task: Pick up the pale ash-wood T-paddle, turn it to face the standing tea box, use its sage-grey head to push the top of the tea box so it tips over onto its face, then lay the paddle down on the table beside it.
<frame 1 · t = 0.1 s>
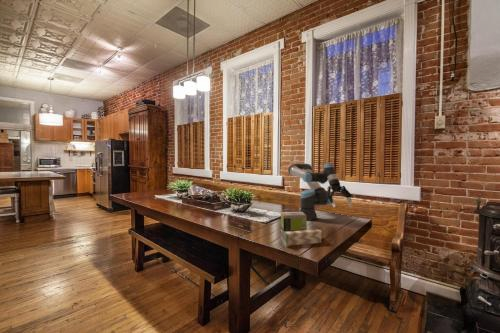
hand: (342, 206, 182), 15 cm above the table, tool tilted 35°, fingers open, 13 cm apart
tea box: (293, 236, 163), on the table
paddle: (303, 243, 149), on the table
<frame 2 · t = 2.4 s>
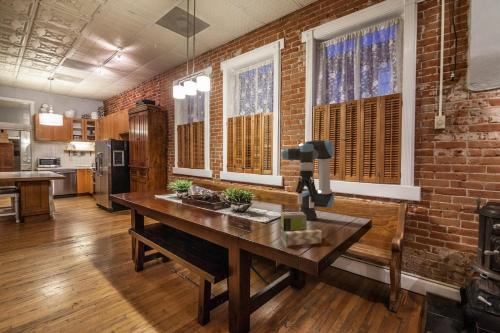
hand: (305, 205, 148), 22 cm above the table, tool pointing down, fingers open, 13 cm apart
nothing on the table moved.
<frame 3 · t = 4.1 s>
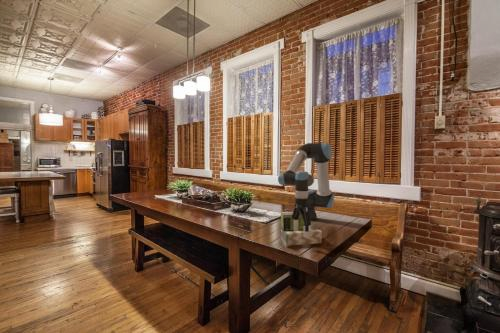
hand: (300, 233, 148), 6 cm above the table, tool pointing down, fingers open, 13 cm apart
nothing on the table moved.
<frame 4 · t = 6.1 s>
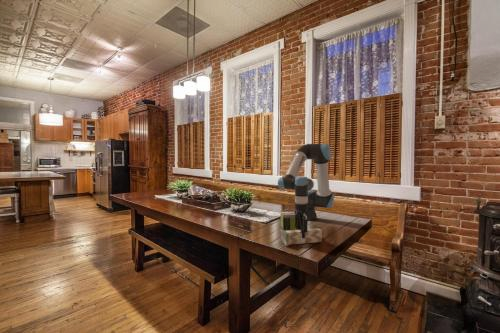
hand: (300, 241, 149), 1 cm above the table, tool pointing down, fingers closed on paddle, 4 cm apart
paddle: (303, 242, 149), on the table, touching gripper
everything else where it was.
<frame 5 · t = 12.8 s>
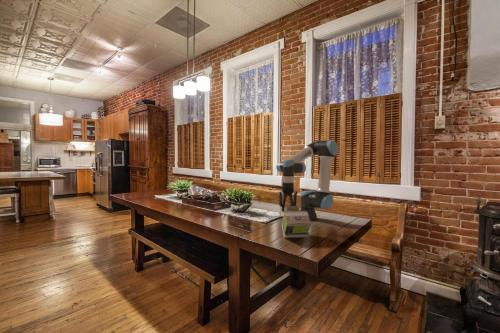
hand: (287, 216, 171), 11 cm above the table, tool pointing down, fingers closed on paddle, 4 cm apart
tea box: (293, 231, 162), point 3 cm above the table, touching paddle
paddle: (286, 216, 172), point 10 cm above the table, tilted 12°, touching gripper, tea box
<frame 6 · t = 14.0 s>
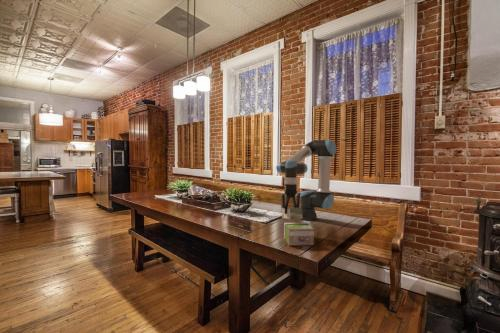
hand: (290, 218, 167), 10 cm above the table, tool pointing down, fingers closed on paddle, 4 cm apart
tea box: (295, 229, 158), point 5 cm above the table
paddle: (289, 218, 168), point 10 cm above the table, tilted 12°, touching gripper
when the fingers open (0 cm above the table, at t = 21.0 s): paddle stays where it is, on the table.
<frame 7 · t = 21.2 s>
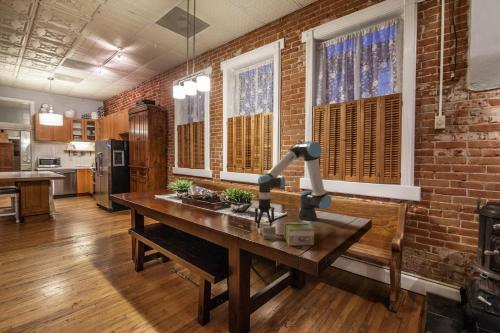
hand: (264, 232, 167), 0 cm above the table, tool pointing down, fingers open, 6 cm apart
paddle: (263, 232, 168), on the table
everything else where it was.
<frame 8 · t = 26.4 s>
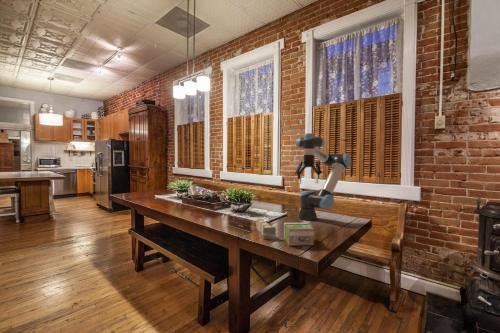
hand: (308, 183, 184), 32 cm above the table, tool pointing down, fingers open, 13 cm apart
nothing on the table moved.
at the end: tea box tilted 91°; paddle inside the target area (0.1 cm from its centre), on the table; the gripper is holding nothing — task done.
